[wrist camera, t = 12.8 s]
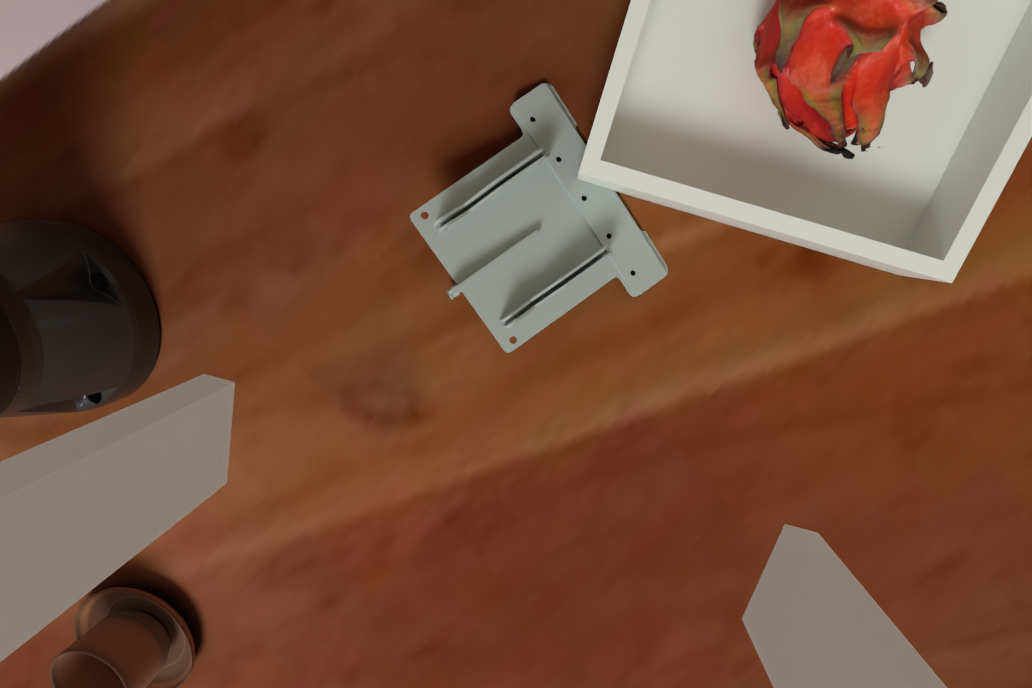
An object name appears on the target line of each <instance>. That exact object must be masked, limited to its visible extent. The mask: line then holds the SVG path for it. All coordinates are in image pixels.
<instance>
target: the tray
mask: <svg viewBox="0 0 1032 688" xmlns="http://www.w3.org/2000/svg"><path fill="white" fill-rule="evenodd" d="M775 1H776V0H631V2H630V5H629V8H628V12H627V15H626V18H625V21H624V25H623V28H622V31H621V35H620V38H619V41H618V44H617V48H616V51H615V54H614V57H613V61H612V64H611V67H610V71H609V74H608V77H607V80H606V84H605V87H604V90H603V93H602V97H601V100H600V103H599V106H598V110H597V113H596V116H595V120H594V123H593V126H592V129H591V133H590V136H589V139H588V142H587V146H586V149H585V152H584V156H583V159H582V162H581V165H580V169H579V172H578V179H579V180H582V181H585V182H588V183H592V184H595V185H598V186H601V187H604V188H608V189H611V190H614V191H616V192H619V193H623V194H626V195H630V196H633V197H636V198H640V199H643V200H647V201H650V202H653V203H657V204H660V205H663V206H667V207H670V208H674V209H677V210H680V211H684V212H687V213H691V214H694V215H697V216H701V217H704V218H707V219H711V220H714V221H718V222H721V223H724V224H728V225H731V226H734V227H738V228H741V229H745V230H748V231H751V232H755V233H758V234H762V235H765V236H768V237H772V238H775V239H778V240H782V241H785V242H789V243H792V244H795V245H799V246H802V247H805V248H809V249H812V250H816V251H819V252H822V253H826V254H829V255H833V256H836V257H839V258H843V259H846V260H849V261H853V262H856V263H860V264H863V265H866V266H870V267H873V268H877V269H880V270H883V271H887V272H890V273H893V274H897V275H901V276H908V277H915V278H921V279H928V280H935V281H941V282H948V283H952V282H953V281H954V279H955V277H956V275H957V273H958V271H959V269H960V268H961V266H962V264H963V262H964V260H965V258H966V257H967V255H968V253H969V251H970V249H971V247H972V245H973V244H974V242H975V240H976V238H977V236H978V234H979V233H980V231H981V229H982V227H983V225H984V223H985V222H986V220H987V218H988V216H989V214H990V212H991V210H992V209H993V207H994V205H995V203H996V201H997V199H998V198H999V196H1000V194H1001V192H1002V190H1003V188H1004V186H1005V185H1006V183H1007V181H1008V179H1009V177H1010V175H1011V174H1012V172H1013V170H1014V168H1015V166H1016V164H1017V162H1018V161H1019V159H1020V157H1021V155H1022V153H1023V151H1024V150H1025V148H1026V146H1027V144H1028V142H1029V140H1030V138H1031V137H1032V0H938V1H937V2H942V3H944V4H945V5H946V10H947V15H946V16H945V18H944V19H943V20H942V21H940V22H938V23H936V24H934V25H929V26H926V27H924V28H923V29H921V35H920V40H921V44H922V46H923V48H924V50H925V51H926V53H927V54H928V56H929V60H930V62H933V75H932V77H931V80H930V82H929V84H928V85H927V86H926V87H922V84H921V83H920V82H919V81H917V82H916V83H915V84H909V85H906V86H904V87H901V88H896V89H895V90H893V91H890V99H889V101H888V103H887V107H886V112H885V120H884V123H883V126H882V129H881V132H880V134H879V135H878V136H877V137H876V138H875V139H874V140H873V141H872V142H871V143H870V144H871V145H870V148H867V149H866V151H864V152H862V151H861V145H860V146H859V145H858V146H856V145H851V141H852V140H853V138H854V135H855V133H856V132H855V133H854V134H852V135H850V136H849V137H846V142H847V146H846V147H844V148H846V149H848V150H849V151H851V152H852V153H853V154H855V156H854V158H853V159H846V158H844V157H843V156H842V154H841V153H840V154H838V155H837V154H832V153H829V152H826V151H823V150H821V149H819V148H818V147H817V146H815V145H814V144H813V143H812V141H811V140H810V139H808V138H807V137H806V136H804V135H803V134H801V133H799V132H797V131H796V130H794V129H793V128H792V127H791V126H790V125H789V127H790V129H788V130H787V129H785V128H784V127H783V125H782V122H781V119H780V117H779V115H778V110H777V109H776V107H775V106H774V105H773V103H772V101H771V99H770V96H769V94H768V92H767V91H766V89H765V87H764V85H763V83H762V82H761V81H760V79H759V77H758V76H757V73H756V70H755V66H754V61H755V58H756V54H755V52H754V47H753V41H754V34H755V32H756V29H757V27H758V25H760V24H761V23H762V21H763V20H764V19H765V17H766V16H767V14H768V13H769V11H770V10H771V8H772V6H773V5H774V3H775ZM910 64H911V70H912V73H913V70H914V66H915V62H914V61H912V62H910ZM833 143H836V144H837V142H833ZM879 147H880V148H879Z"/></svg>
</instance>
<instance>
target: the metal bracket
mask: <svg viewBox="0 0 1032 688" xmlns="http://www.w3.org/2000/svg"><path fill="white" fill-rule="evenodd" d="M510 113H511V115H512V116H513V118H514V119H515V121H516V122H517V124H518V125H519V127H520V128H521V130H522V132H523V136H522V137H521V138H519V139H518V140H517V141H515V142H514V143H512V144H511V145H509V146H508V147H506V148H505V149H504V150H502V151H501V152H499V153H498V154H496V155H495V156H493V157H492V158H491V159H489V160H488V161H486V162H485V163H483V164H482V165H480V166H479V167H477V168H476V169H475V170H473V171H472V172H470V173H469V174H467V175H466V176H464V177H463V178H462V179H460V180H459V181H457V182H456V183H454V184H453V185H451V186H450V187H449V188H447V189H446V190H444V191H443V192H441V193H440V194H438V195H437V196H436V197H434V198H433V199H431V200H430V201H428V202H427V203H425V204H424V205H423V206H421V207H420V208H418V209H417V210H415V211H414V212H412V214H411V215H410V219H411V221H412V222H413V224H414V225H415V227H416V228H417V229H418V231H419V232H420V234H421V235H422V236H423V238H424V239H425V241H426V242H427V243H428V245H429V246H430V248H431V249H432V250H433V252H434V253H435V255H436V256H437V257H438V259H439V260H440V262H441V263H442V264H443V266H444V267H445V269H446V270H447V271H448V273H449V274H450V276H451V277H452V278H453V280H454V281H455V283H456V285H455V286H452V287H451V288H450V289H449V290H448V291H449V292H448V291H446V292H447V293H448V295H449V296H450V297H451V299H453V298H454V297H455V296H458V295H459V294H460V293H461V292H463V294H464V295H465V297H466V298H467V299H468V301H469V302H470V304H471V305H472V306H473V308H474V309H475V311H476V312H477V313H478V315H479V316H480V318H481V319H482V320H483V322H484V323H485V325H486V326H487V327H488V329H489V330H490V332H491V333H492V334H493V336H494V337H495V338H496V340H497V341H498V343H499V344H500V345H501V347H502V348H503V350H504V351H505V352H508V353H509V352H512V351H513V350H515V349H516V348H517V347H519V346H520V345H521V344H523V343H524V342H526V341H527V340H528V339H530V338H531V337H533V336H534V335H535V334H537V333H538V332H540V331H541V330H542V329H544V328H545V327H546V326H548V325H549V324H551V323H552V322H553V321H555V320H556V319H558V318H559V317H560V316H562V315H563V314H564V313H566V312H567V311H569V310H570V309H571V308H573V307H574V306H576V305H577V304H578V303H580V302H581V301H583V300H584V299H585V298H587V297H588V296H589V295H591V294H592V293H594V292H595V291H596V290H598V289H599V288H601V287H602V286H603V285H605V284H606V283H607V282H609V281H610V280H612V279H613V278H615V277H617V278H619V279H620V280H621V282H622V283H623V285H624V286H625V288H626V289H627V291H628V292H629V294H630V295H631V296H633V297H636V296H638V295H640V294H642V293H643V292H645V291H646V290H647V289H649V288H650V287H652V286H653V285H654V284H656V283H657V282H658V281H660V280H661V279H663V278H664V277H665V276H666V275H667V273H668V267H667V265H666V263H665V262H664V260H663V259H662V257H661V256H660V254H659V252H658V251H657V249H656V248H655V246H654V245H653V243H652V241H651V240H650V238H649V237H648V235H647V234H646V232H645V231H641V230H640V229H639V227H638V226H637V224H636V222H635V221H634V219H633V218H632V216H631V215H630V213H629V211H628V210H627V208H626V207H625V205H624V204H623V202H622V201H621V199H620V197H619V196H618V194H617V193H616V191H614V190H611V189H608V188H604V187H601V186H598V185H595V184H592V183H588V182H585V181H582V180H579V179H578V172H579V169H580V165H581V162H582V159H583V156H584V152H585V149H586V144H585V143H584V141H583V140H582V138H581V136H580V135H579V133H578V132H577V130H576V125H577V124H576V122H575V121H574V119H573V117H572V116H571V114H570V113H569V111H568V110H567V108H566V106H565V105H564V103H563V102H562V100H561V99H560V97H559V95H558V94H557V92H556V91H555V89H554V88H553V86H551V85H550V84H548V83H543V84H540V85H539V86H537V87H536V88H534V89H533V90H532V91H530V92H529V93H527V94H526V95H524V96H523V97H521V98H520V99H518V100H517V101H516V102H514V103H513V105H512V106H511V107H510ZM531 117H534V118H535V122H531V121H530V118H531ZM557 157H560V158H561V162H557V160H556V158H557ZM582 196H586V198H587V199H586V201H583V200H582ZM422 212H427V213H428V214H429V217H428V218H427V219H422V218H421V213H422ZM607 234H610V235H611V238H610V239H608V238H607V237H606V235H607ZM632 270H633V271H635V275H634V276H632V275H631V271H632ZM512 336H515V337H516V338H517V342H516V343H514V344H511V343H510V341H509V339H510V337H512Z"/></svg>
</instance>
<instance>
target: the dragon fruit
mask: <svg viewBox="0 0 1032 688" xmlns="http://www.w3.org/2000/svg"><path fill="white" fill-rule="evenodd" d="M937 1H938V0H776V1H775V3H774V5H773V6H772V8H771V10H770V11H769V13H768V14H767V16H766V17H765V19H764V20H763V21H762V23H761V24H760V25H758V27H757V29H756V32H755V34H754V41H753V47H754V52H755V54H756V58H755V61H754V66H755V70H756V73H757V76H758V77H759V79H760V81H761V82H762V83H763V85H764V87H765V89H766V91H767V92H768V94H769V96H770V99H771V101H772V103H773V105H774V106H775V107H776V109H777V110H778V115H779V117H780V119H781V122H782V125H783V127H784V128H785V129H787V130H788V129H790V127H789V125H790V126H791V127H792V128H793V129H794V130H796V131H797V132H799V133H801V134H803V135H804V136H806V137H807V138H808V139H810V140H811V141H812V143H813V144H814V145H815V146H817V147H818V148H819V149H821V150H823V151H826V152H829V153H832V154H837V155H838V154H840V153H841V154H842V156H843V157H844V158H846V159H853V158H854V156H855V154H853V153H852V152H851V151H849V150H848V149H846V148H844V147H846V146H847V142H846V137H849V136H850V135H852V134H854V133H855V132H856V133H855V135H854V138H853V140H852V141H851V145H856V146H858V145H859V146H860V145H861V151H862V152H864V151H866V149H867V148H870V145H871V144H870V143H871V142H872V141H873V140H874V139H875V138H876V137H877V136H878V135H879V134H880V132H881V129H882V126H883V123H884V120H885V112H886V107H887V103H888V101H889V99H890V91H893V90H895V89H896V88H901V87H904V86H906V85H909V84H915V83H916V82H917V81H919V82H920V83H921V84H922V87H926V86H927V85H928V84H929V82H930V80H931V77H932V75H933V62H930V60H929V56H928V54H927V53H926V51H925V50H924V48H923V46H922V44H921V40H920V35H921V29H923V28H924V27H926V26H929V25H934V24H936V23H938V22H940V21H942V20H943V19H944V18H945V16H946V15H947V10H946V5H945V4H944V3H942V2H937ZM912 61H914V62H915V66H914V70H913V73H912V70H911V64H910V62H912ZM833 142H837V144H836V143H833ZM879 148H880V147H879Z"/></svg>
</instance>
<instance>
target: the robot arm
mask: <svg viewBox="0 0 1032 688" xmlns="http://www.w3.org/2000/svg"><path fill="white" fill-rule="evenodd" d="M159 342H160V330H159V321H158V315H157V311H156V308H155V304H154V301H153V299H152V296H151V294H150V291H149V289H148V287H147V285H146V283H145V281H144V280H143V278H142V276H141V275H140V273H139V272H138V270H137V269H136V268H135V266H134V265H133V264H132V263H131V261H130V260H129V259H128V258H127V257H126V256H125V255H124V254H123V253H122V252H121V251H120V250H119V249H118V248H117V247H116V246H115V245H113V244H112V243H111V242H110V241H108V240H107V239H105V238H104V237H102V236H101V235H99V234H97V233H96V232H94V231H92V230H90V229H88V228H85V227H83V226H80V225H77V224H74V223H70V222H65V221H55V220H20V221H12V222H6V223H2V224H0V418H2V417H16V416H29V415H43V414H56V413H70V412H81V411H87V410H91V409H95V408H98V407H101V406H104V405H106V404H109V403H111V402H114V401H117V400H119V399H122V398H124V397H126V396H128V395H130V394H132V393H133V392H134V391H136V390H137V389H138V388H139V387H140V386H141V385H142V384H143V383H144V382H145V381H146V379H147V378H148V377H149V375H150V373H151V371H152V369H153V367H154V365H155V362H156V359H157V355H158V351H159ZM234 388H235V382H232V381H229V380H225V379H221V378H217V377H213V376H209V375H205V374H203V375H201V376H198V377H196V378H194V379H191V380H189V381H187V382H184V383H182V384H180V385H177V386H175V387H173V388H170V389H168V390H166V391H163V392H161V393H159V394H157V395H154V396H152V397H150V398H147V399H145V400H143V401H140V402H138V403H136V404H133V405H131V406H129V407H126V408H124V409H122V410H119V411H117V412H115V413H112V414H110V415H108V416H105V417H103V418H101V419H98V420H96V421H94V422H92V423H89V424H87V425H85V426H82V427H80V428H78V429H75V430H73V431H71V432H68V433H66V434H64V435H61V436H59V437H57V438H54V439H52V440H50V441H47V442H45V443H43V444H40V445H38V446H36V447H33V448H31V449H29V450H26V451H24V452H22V453H20V454H17V455H15V456H13V457H10V458H8V459H6V460H3V461H0V662H1V661H2V660H3V659H5V658H6V657H7V656H9V655H10V654H11V653H12V652H14V651H15V650H16V649H17V648H19V647H20V646H21V645H22V644H24V643H25V642H26V641H28V640H29V639H30V638H31V637H33V636H34V635H35V634H36V633H38V632H39V631H40V630H41V629H43V628H44V627H45V626H47V625H48V624H49V623H50V622H52V621H53V620H54V619H55V618H57V617H58V616H59V615H60V614H62V613H63V612H64V611H66V610H67V609H68V608H69V607H71V606H72V605H73V604H74V603H76V602H77V601H78V600H79V599H81V598H82V597H83V596H85V595H86V594H87V593H88V592H90V591H91V590H92V589H93V588H95V587H96V586H97V585H98V584H100V583H101V582H102V581H104V580H105V579H106V578H107V577H109V576H110V575H111V574H112V573H114V572H115V571H116V570H117V569H119V568H120V567H121V566H123V565H124V564H125V563H126V562H128V561H129V560H130V559H131V558H133V557H134V556H135V555H136V554H138V553H139V552H140V551H142V550H143V549H144V548H145V547H147V546H148V545H149V544H150V543H152V542H153V541H154V540H155V539H157V538H158V537H159V536H161V535H162V534H163V533H164V532H166V531H167V530H168V529H169V528H171V527H172V526H173V525H174V524H176V523H177V522H178V521H180V520H181V519H182V518H183V517H185V516H186V515H187V514H188V513H190V512H191V511H192V510H193V509H195V508H196V507H197V506H199V505H200V504H201V503H202V502H204V501H205V500H206V499H207V498H209V497H210V496H211V495H212V494H214V493H215V492H216V491H218V490H219V489H220V488H221V487H223V486H224V485H225V484H226V483H227V475H228V462H229V450H230V438H231V425H232V413H233V400H234ZM742 620H743V623H744V625H745V627H746V629H747V631H748V633H749V636H750V638H751V640H752V642H753V644H754V646H755V649H756V651H757V653H758V655H759V657H760V659H761V662H762V664H763V666H764V668H765V670H766V673H767V675H768V677H769V679H770V681H771V683H772V686H773V688H947V687H946V686H945V685H944V683H943V682H942V681H941V680H940V679H939V677H938V676H937V675H936V674H935V673H934V671H933V670H932V669H931V668H930V667H929V665H928V664H927V663H926V662H925V661H924V659H923V658H922V657H921V656H920V655H919V653H918V652H917V651H916V650H915V649H914V647H913V646H912V645H911V644H910V643H909V641H908V640H907V639H906V638H905V637H904V635H903V634H902V633H901V632H900V631H899V629H898V628H897V627H896V626H895V625H894V623H893V622H892V621H891V620H890V619H889V617H888V616H887V615H886V614H885V613H884V611H883V610H882V609H881V608H880V607H879V605H878V604H877V603H876V602H875V601H874V599H873V598H872V597H871V596H870V595H869V593H868V592H867V591H866V590H865V589H864V587H863V586H862V585H861V584H860V583H859V581H858V580H857V579H856V578H855V577H854V575H853V574H852V573H851V572H850V571H849V569H848V568H847V567H846V566H845V565H844V563H843V562H842V561H841V560H840V559H839V557H838V556H837V555H836V554H835V553H834V551H833V550H832V549H831V548H830V547H829V545H828V544H827V543H826V542H825V541H824V539H823V538H822V537H821V536H820V535H819V533H817V532H813V531H809V530H805V529H802V528H798V527H794V526H790V525H786V524H785V525H784V527H783V529H782V531H781V534H780V536H779V538H778V540H777V542H776V545H775V547H774V549H773V551H772V554H771V556H770V558H769V560H768V562H767V565H766V567H765V569H764V571H763V573H762V576H761V578H760V580H759V582H758V584H757V587H756V589H755V591H754V593H753V595H752V598H751V600H750V602H749V604H748V606H747V609H746V611H745V613H744V615H743V617H742Z"/></svg>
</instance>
